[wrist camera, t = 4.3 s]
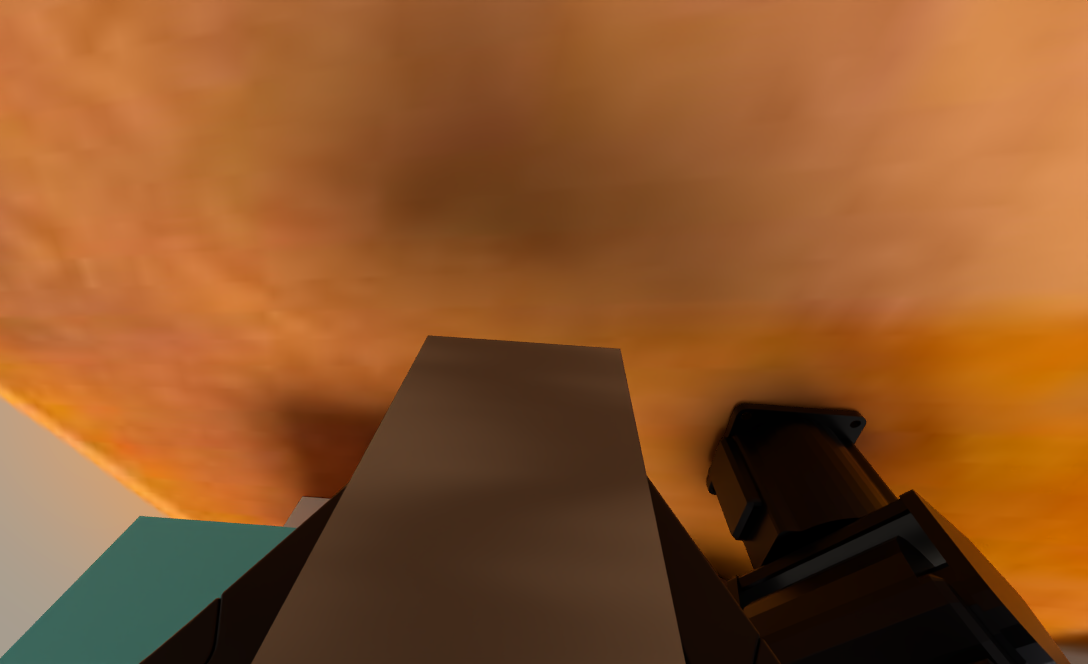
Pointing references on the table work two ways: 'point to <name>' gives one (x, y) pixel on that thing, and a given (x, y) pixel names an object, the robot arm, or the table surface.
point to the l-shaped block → (148, 588)
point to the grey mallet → (491, 523)
